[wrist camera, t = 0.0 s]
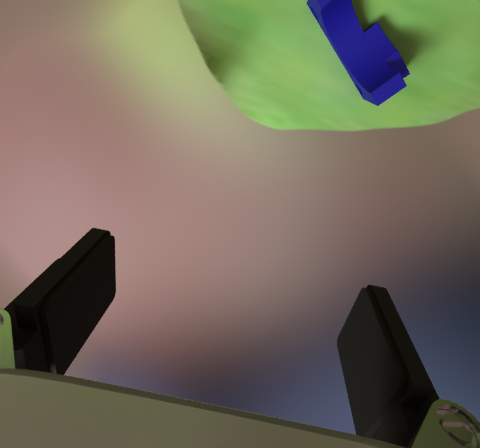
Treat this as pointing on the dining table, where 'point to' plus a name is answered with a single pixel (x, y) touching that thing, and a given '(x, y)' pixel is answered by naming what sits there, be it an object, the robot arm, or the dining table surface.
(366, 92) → the blue notched block
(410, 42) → the dining table surface
